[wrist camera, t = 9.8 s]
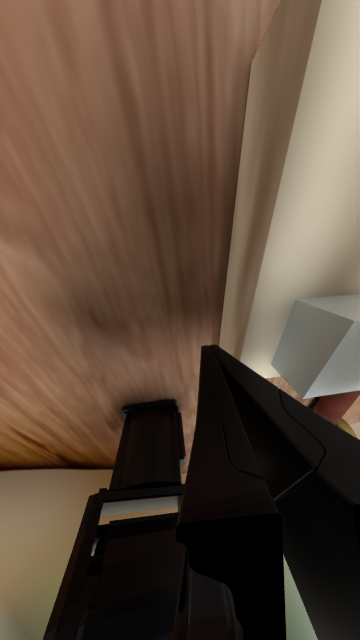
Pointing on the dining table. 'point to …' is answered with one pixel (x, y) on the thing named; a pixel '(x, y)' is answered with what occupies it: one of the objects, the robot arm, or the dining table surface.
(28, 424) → the dining table surface
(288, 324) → the grey sharp-edged block
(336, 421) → the gavel
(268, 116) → the board
